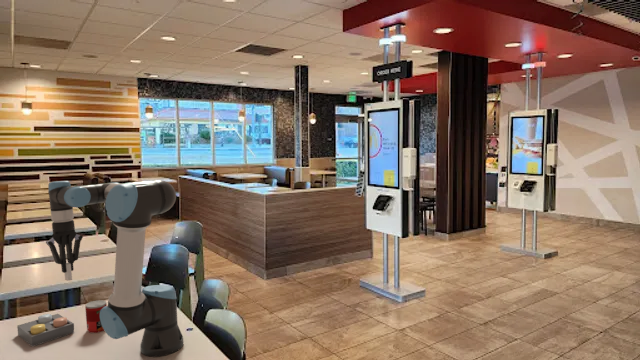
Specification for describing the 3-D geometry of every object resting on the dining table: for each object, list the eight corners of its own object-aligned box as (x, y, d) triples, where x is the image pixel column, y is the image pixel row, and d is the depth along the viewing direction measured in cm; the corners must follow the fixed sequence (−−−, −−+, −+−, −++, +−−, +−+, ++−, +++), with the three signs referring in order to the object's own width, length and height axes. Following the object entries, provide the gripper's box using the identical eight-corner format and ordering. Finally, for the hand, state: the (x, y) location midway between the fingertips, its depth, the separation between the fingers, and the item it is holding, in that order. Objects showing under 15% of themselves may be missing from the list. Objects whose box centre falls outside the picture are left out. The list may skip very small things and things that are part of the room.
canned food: (99, 333, 178) (98, 307, 177) (82, 332, 180) (80, 306, 179) (112, 325, 186) (110, 300, 185) (95, 324, 187) (93, 299, 186)
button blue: (54, 323, 184) (53, 315, 183) (41, 327, 180) (40, 319, 179) (49, 321, 187) (49, 313, 186) (37, 324, 183) (36, 316, 183)
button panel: (74, 332, 180) (73, 323, 179) (32, 346, 168) (31, 336, 168) (58, 322, 190) (57, 313, 190) (18, 335, 179) (17, 325, 178)
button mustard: (47, 334, 174) (46, 325, 173) (33, 339, 170) (33, 330, 170) (43, 331, 177) (42, 322, 176) (29, 335, 173) (28, 327, 173)
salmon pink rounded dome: (69, 327, 180) (68, 319, 179) (56, 331, 176) (55, 323, 176) (64, 324, 183) (64, 316, 182) (52, 328, 179) (51, 320, 179)
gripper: (76, 217, 180) (81, 274, 182) (40, 222, 170) (46, 282, 172) (84, 218, 176) (90, 276, 177) (48, 224, 165) (54, 285, 167)
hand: (68, 279), depth 175 cm, fingers closed
